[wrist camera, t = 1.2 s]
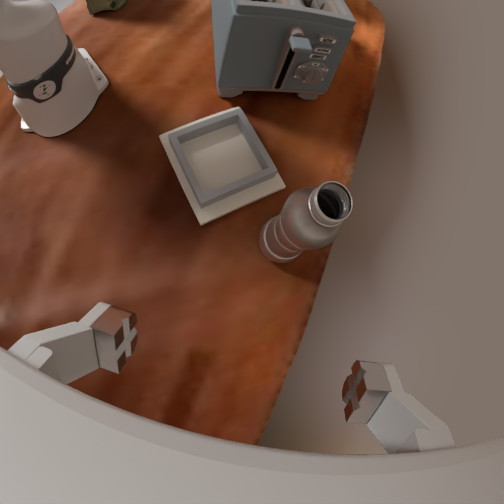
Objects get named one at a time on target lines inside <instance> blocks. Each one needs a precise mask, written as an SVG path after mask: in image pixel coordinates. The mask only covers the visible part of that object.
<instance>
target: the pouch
mask: <svg viewBox="0 0 504 504" xmlns="http://www.w3.org/2000/svg"><path fill="white" fill-rule="evenodd" d="M86 2H87V8H88V10H89V13H90V15H92V14H94V13H97V12H100V11H104V10H113V11H116V10H119V9H120V8H121V7H122V6H123V5H124V4H125V3H126V2H127V0H86Z"/></svg>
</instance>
